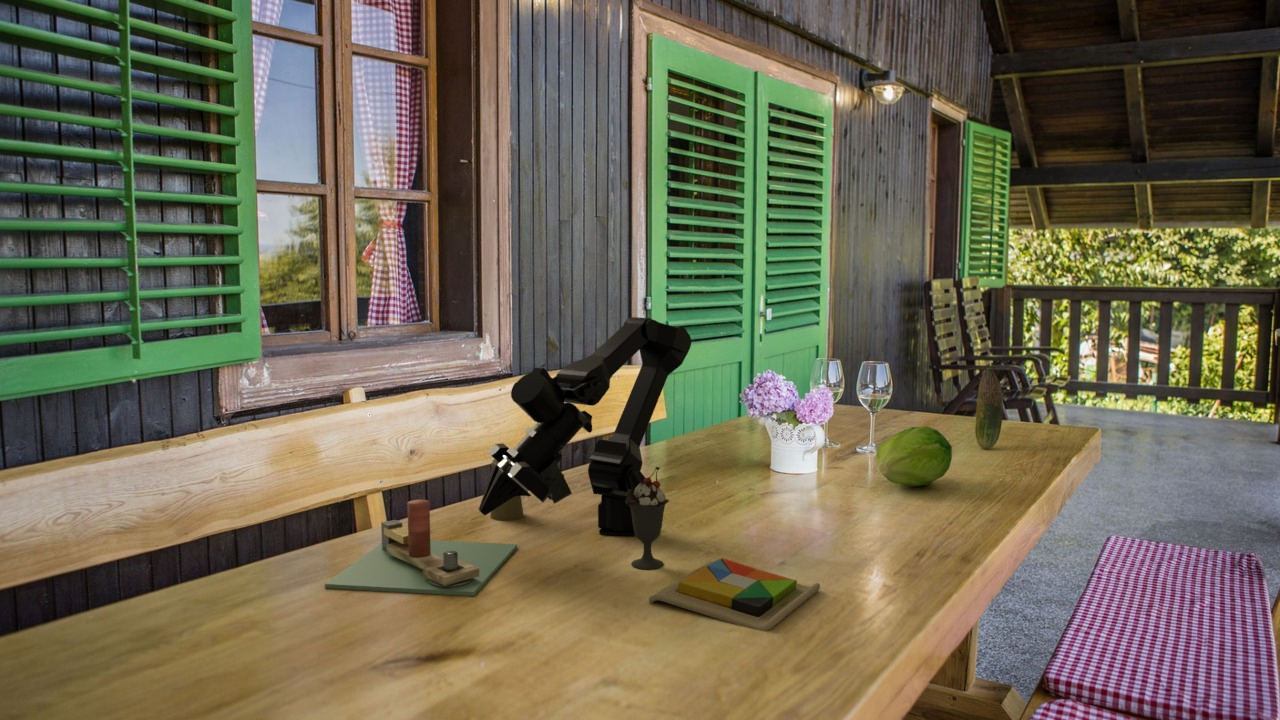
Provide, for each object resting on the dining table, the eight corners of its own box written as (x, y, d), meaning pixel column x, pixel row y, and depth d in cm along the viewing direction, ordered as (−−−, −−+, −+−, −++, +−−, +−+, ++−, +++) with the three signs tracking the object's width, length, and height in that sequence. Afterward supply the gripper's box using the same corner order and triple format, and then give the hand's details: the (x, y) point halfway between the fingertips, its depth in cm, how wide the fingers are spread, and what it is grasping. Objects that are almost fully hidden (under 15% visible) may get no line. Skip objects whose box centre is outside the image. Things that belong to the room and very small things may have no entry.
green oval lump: (850, 490, 189) (851, 432, 188) (903, 474, 203) (904, 420, 202) (912, 503, 179) (914, 442, 178) (963, 485, 193) (965, 428, 192)
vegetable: (971, 445, 234) (974, 366, 232) (997, 446, 234) (1001, 366, 231) (976, 450, 228) (980, 369, 226) (1003, 451, 228) (1007, 369, 225)
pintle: (479, 577, 138) (478, 547, 137) (465, 593, 131) (464, 561, 131) (437, 575, 139) (437, 545, 138) (421, 590, 132) (420, 559, 132)
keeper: (381, 553, 149) (380, 522, 148) (396, 549, 151) (395, 519, 150) (403, 565, 143) (403, 533, 143) (419, 561, 145) (418, 530, 144)
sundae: (674, 560, 146) (675, 465, 144) (661, 573, 140) (661, 475, 138) (634, 555, 148) (634, 462, 146) (619, 568, 142) (619, 471, 140)
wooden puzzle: (772, 637, 118) (773, 610, 117) (644, 607, 128) (644, 582, 127) (823, 595, 132) (823, 570, 132) (704, 571, 142) (704, 548, 142)
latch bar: (479, 576, 135) (478, 513, 134) (444, 585, 131) (443, 521, 130) (411, 546, 148) (409, 490, 147) (377, 554, 144) (375, 496, 143)
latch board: (517, 547, 152) (517, 544, 152) (474, 596, 130) (473, 592, 130) (388, 541, 155) (388, 538, 155) (324, 588, 133) (324, 583, 133)
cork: (517, 521, 167) (516, 460, 166) (485, 519, 168) (484, 459, 167) (527, 512, 173) (527, 453, 172) (496, 510, 174) (495, 452, 173)
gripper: (604, 481, 141) (534, 562, 138) (567, 456, 158) (505, 527, 155) (552, 434, 137) (479, 516, 134) (521, 413, 154) (456, 486, 152)
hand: (481, 512), depth 144 cm, fingers closed
